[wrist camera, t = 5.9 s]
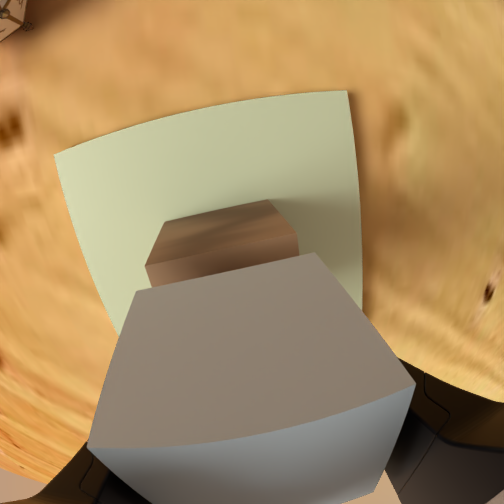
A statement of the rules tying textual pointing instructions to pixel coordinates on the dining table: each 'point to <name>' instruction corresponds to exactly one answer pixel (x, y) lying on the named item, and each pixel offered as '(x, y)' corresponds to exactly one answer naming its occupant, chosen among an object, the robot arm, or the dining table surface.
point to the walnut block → (220, 243)
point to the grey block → (251, 391)
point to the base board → (216, 184)
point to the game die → (12, 17)
